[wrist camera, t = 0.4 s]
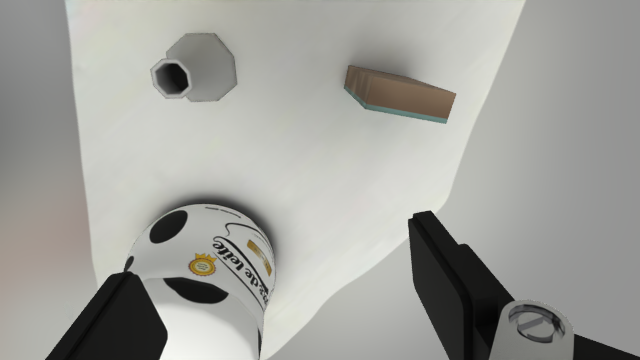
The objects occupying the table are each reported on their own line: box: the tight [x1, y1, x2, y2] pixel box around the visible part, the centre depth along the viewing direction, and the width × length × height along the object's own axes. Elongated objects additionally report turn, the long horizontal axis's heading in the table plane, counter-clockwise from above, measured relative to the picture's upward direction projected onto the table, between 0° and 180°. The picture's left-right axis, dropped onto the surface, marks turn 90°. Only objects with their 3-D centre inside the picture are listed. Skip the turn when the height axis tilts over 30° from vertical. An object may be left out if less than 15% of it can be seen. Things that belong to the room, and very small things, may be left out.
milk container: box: [124, 204, 276, 360], centre depth 36 cm, size 17×17×18 cm
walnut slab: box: [344, 66, 456, 124], centre depth 32 cm, size 2×7×12 cm, turn 79°
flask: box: [150, 34, 237, 102], centre depth 31 cm, size 7×7×10 cm
